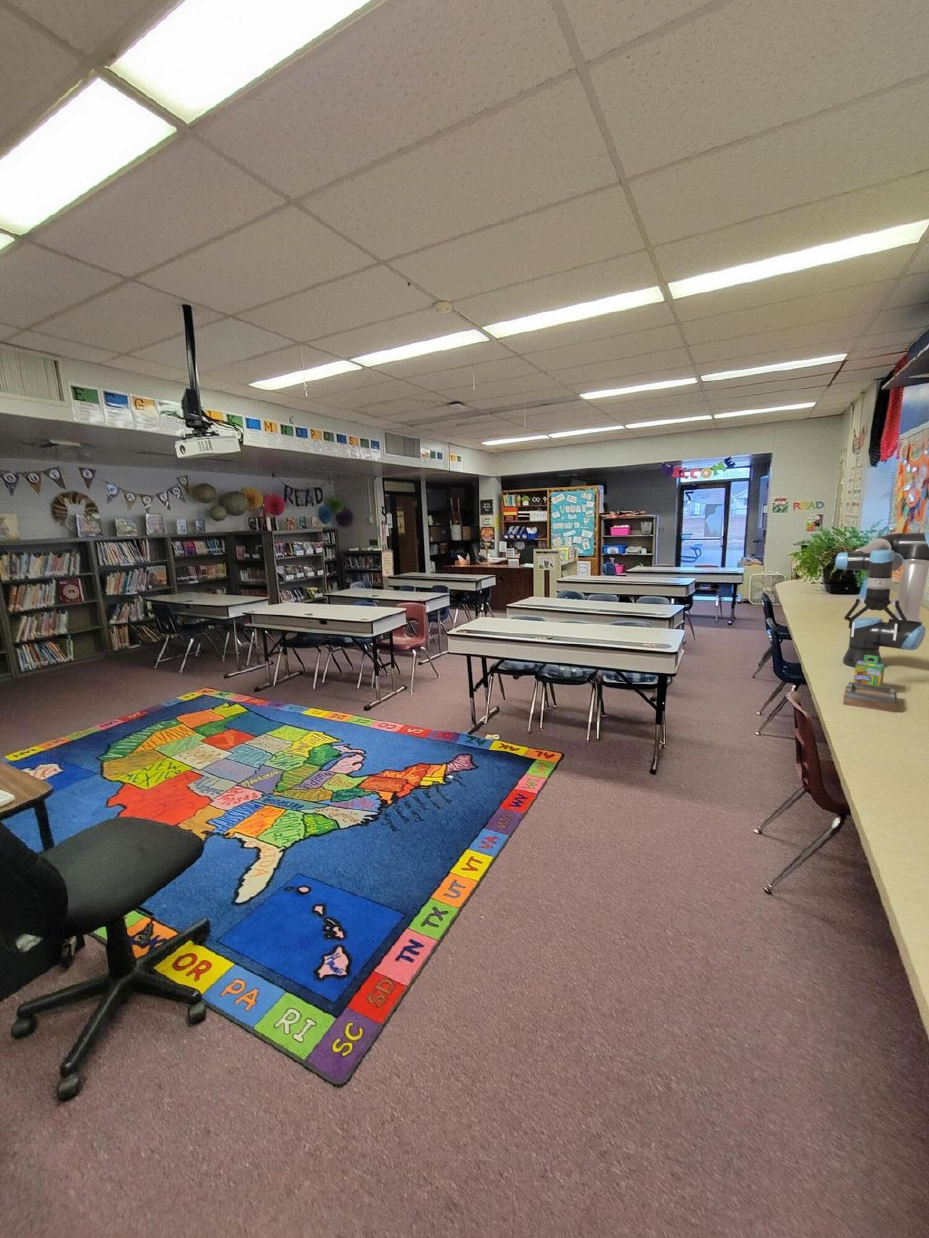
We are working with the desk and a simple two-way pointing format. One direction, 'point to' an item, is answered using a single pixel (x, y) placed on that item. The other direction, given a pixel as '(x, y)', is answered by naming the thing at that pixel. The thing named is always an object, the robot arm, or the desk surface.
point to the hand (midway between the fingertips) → (872, 638)
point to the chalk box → (869, 671)
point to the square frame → (870, 696)
